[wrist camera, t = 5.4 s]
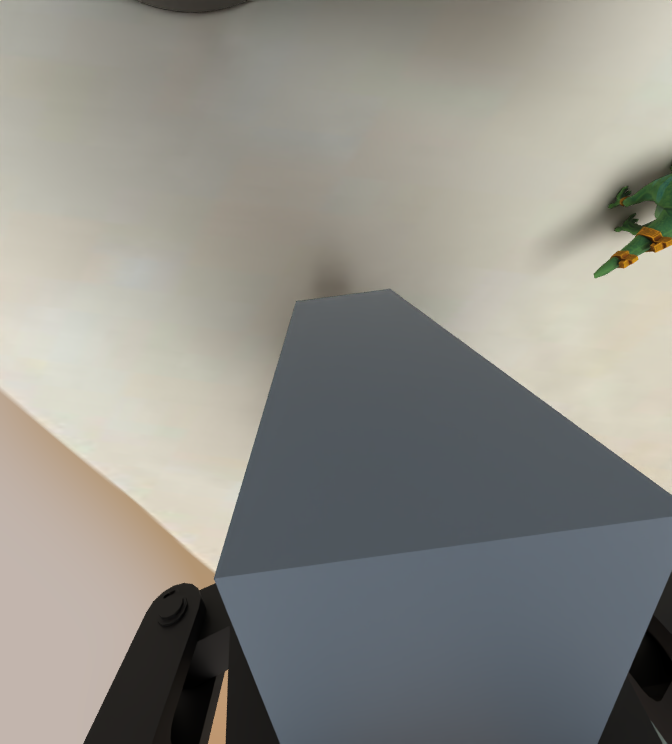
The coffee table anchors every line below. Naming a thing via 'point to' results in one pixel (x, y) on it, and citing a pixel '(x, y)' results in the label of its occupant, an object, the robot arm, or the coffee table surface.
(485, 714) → the door panel
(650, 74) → the coffee table surface
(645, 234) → the figurine
